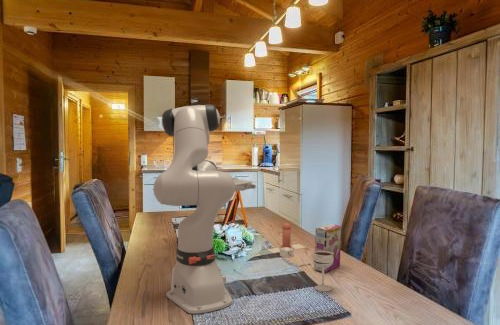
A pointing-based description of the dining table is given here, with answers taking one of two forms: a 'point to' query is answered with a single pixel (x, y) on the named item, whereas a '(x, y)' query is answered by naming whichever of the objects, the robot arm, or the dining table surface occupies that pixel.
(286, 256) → the die
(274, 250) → the track board
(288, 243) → the pawn
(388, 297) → the dining table surface
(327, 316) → the dining table surface
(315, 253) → the wineglass
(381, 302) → the dining table surface
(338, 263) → the candy bar box
